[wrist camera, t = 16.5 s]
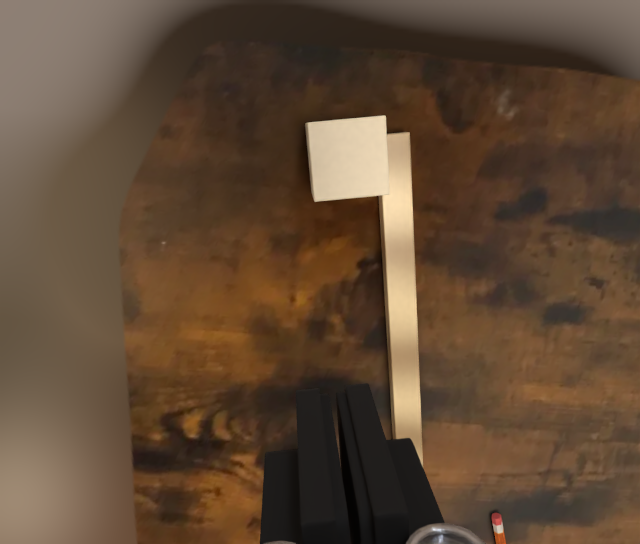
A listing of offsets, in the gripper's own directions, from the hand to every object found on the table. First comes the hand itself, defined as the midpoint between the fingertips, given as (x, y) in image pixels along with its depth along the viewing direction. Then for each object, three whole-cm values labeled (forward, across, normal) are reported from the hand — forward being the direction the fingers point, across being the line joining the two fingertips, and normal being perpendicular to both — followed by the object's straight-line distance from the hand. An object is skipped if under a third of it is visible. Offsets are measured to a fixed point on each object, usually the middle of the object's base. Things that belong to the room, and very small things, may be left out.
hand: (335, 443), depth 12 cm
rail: (+24, -7, +10) cm, 27 cm away
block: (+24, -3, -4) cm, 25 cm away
